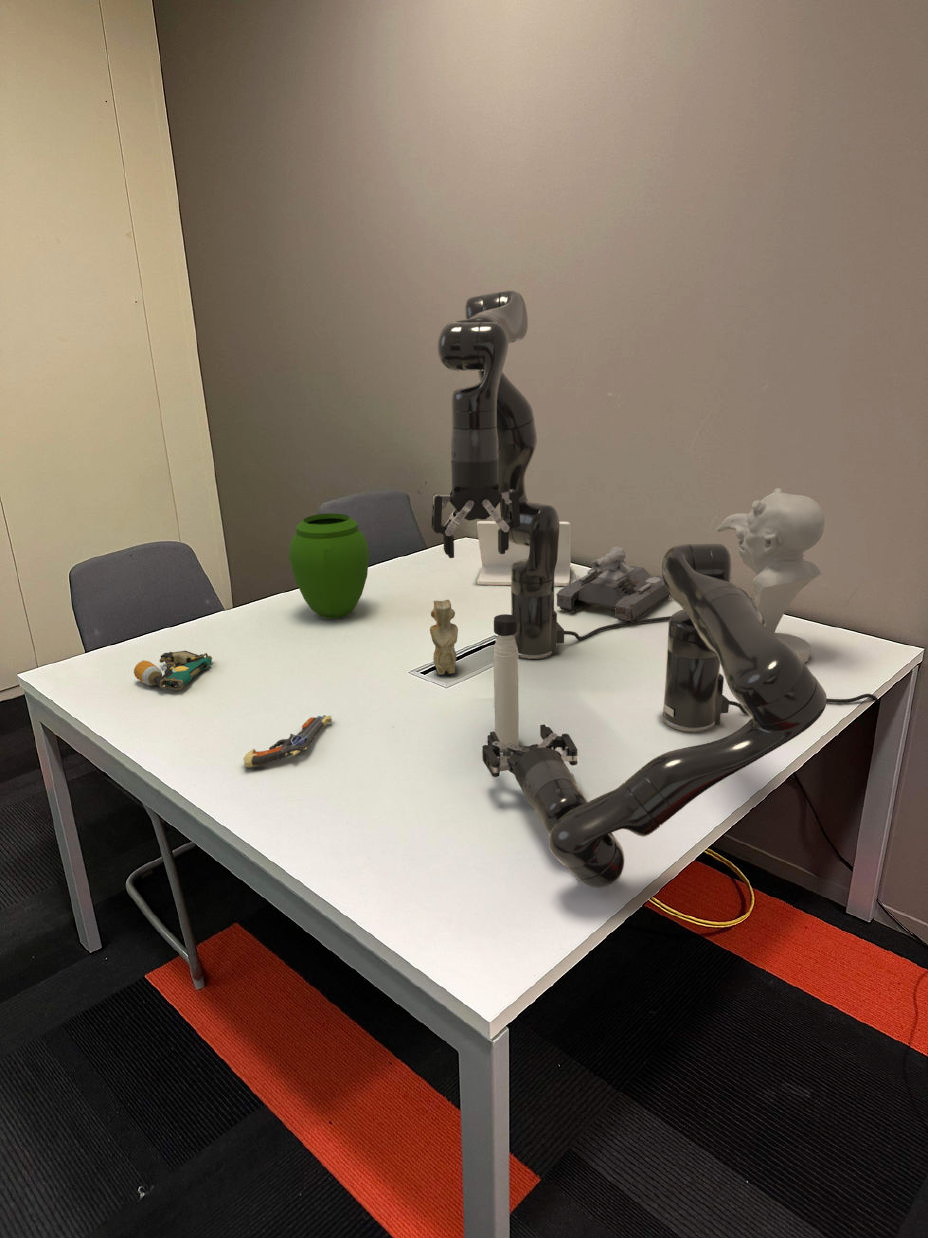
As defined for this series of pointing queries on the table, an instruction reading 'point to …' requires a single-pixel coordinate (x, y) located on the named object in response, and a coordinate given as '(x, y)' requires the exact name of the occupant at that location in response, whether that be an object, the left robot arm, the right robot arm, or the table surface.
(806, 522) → the bust sculpture
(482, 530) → the tablet stand
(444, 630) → the sculpture
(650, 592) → the toy
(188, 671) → the spray gun
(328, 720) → the toy gun
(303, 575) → the vase
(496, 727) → the bottle
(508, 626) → the cap
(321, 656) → the table surface
